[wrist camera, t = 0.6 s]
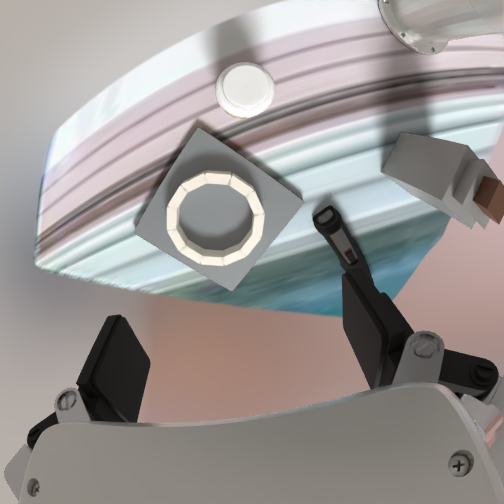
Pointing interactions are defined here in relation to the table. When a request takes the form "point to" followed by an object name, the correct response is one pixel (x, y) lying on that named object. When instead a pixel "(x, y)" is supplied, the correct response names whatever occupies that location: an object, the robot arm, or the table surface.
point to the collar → (216, 211)
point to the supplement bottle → (244, 90)
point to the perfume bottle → (447, 178)
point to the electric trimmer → (340, 239)
